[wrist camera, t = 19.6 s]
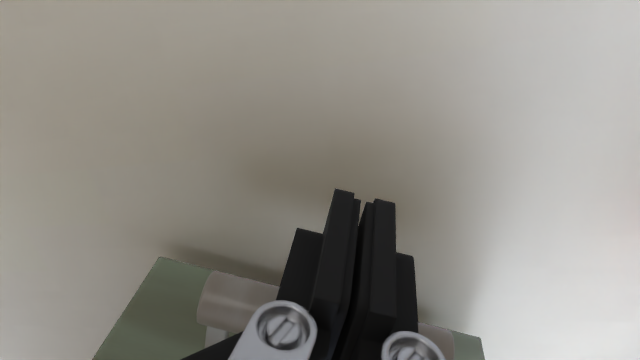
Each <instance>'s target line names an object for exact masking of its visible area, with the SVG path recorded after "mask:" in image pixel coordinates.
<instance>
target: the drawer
mask: <svg viewBox="0 0 640 360" xmlns="http://www.w3.org/2000/svg"><path fill="white" fill-rule="evenodd" d="M278 291H279V286H275V285H271V284H267V283H263V282H259V281H255V280H251V279H247V278H243V277H239V276H235V275H231V274H227V273H223V272H219V271H215V270H211V269H208V268H204V267H200V266H196V265H192V264H188V263H184V262H180V261H176V260H172V259H168V258H164V257H159V258H158V260H157V261H156V263H155V264H154V266H153V267H152V269H151V270H150V272H149V273H148V275H147V277H146V278H145V280H144V281H143V283H142V284H141V286H140V287H139V289H138V290H137V292H136V293H135V295H134V296H133V298H132V299H131V301H130V303H129V304H128V306H127V307H126V309H125V310H124V312H123V313H122V315H121V316H120V318H119V319H118V321H117V322H116V324H115V326H114V327H113V329H112V330H111V332H110V333H109V335H108V336H107V338H106V339H105V341H104V342H103V344H102V345H101V347H100V348H99V350H98V352H97V353H96V355H95V356H94V358H93V359H92V360H180V359H183V358H185V357H187V356H189V355H191V354H194V353H196V352H198V351H200V350H202V349H205V348H207V347H209V346H211V345H214V344H216V343H218V342H220V341H222V340H225V339H227V338H229V337H231V336H233V335H236V334H238V333H240V332H242V331H244V330H245V328H246V326H247V324H248V322H249V321H250V319H251V317H252V315H253V314H254V313H255V311H256V310H257V309H258V308H259V307H261V306H262V305H264V304H265V303H268V302H272V301H275V300H276V298H277V294H278ZM418 332H419V334H421V335H423V336H424V337H426V338H428V339H429V340H431V341H432V342H433V343H434V344H436V345H437V347H438V348H439V349H440V350H441V352H442V353H443V354H444V357H445V359H446V360H485V358H484V353H483V348H482V343H481V339H480V338H479V337H476V336H472V335H468V334H464V333H460V332H456V331H452V330H448V329H444V328H440V327H436V326H432V325H428V324H424V323H421V322H418Z"/></svg>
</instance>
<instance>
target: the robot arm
mask: <svg viewBox="0 0 640 360" xmlns="http://www.w3.org/2000/svg"><path fill="white" fill-rule="evenodd" d="M360 204H361V200H358V199H354V193H352V192H348V191H344V190H340V189H336V188H335V191H334V194H333V198H332V202H331V206H330V209H329V213H328V217H327V221H326V224H325V228H324V232H323V234H321V233H317V232H313V231H308V230H304V229H300V228H297V230H296V233H295V236H294V240H293V243H292V246H291V250H290V253H289V257H288V260H287V264H286V267H285V270H284V274H283V277H282V281H281V284H280V287H279V291H278V294H277V298H276V300H275V301H272V302H268V303H265V304H264V305H262V306H261V307H259V308H258V309H257V310H256V311H255V313H254V314H253V315H252V317H251V319H250V321H249V322H248V324H247V326H246V328H245V330H244V331H242V332H240V333H238V334H236V335H233V336H231V337H229V338H227V339H225V340H222V341H220V342H218V343H216V344H214V345H211V346H209V347H207V348H205V349H202V350H200V351H198V352H196V353H194V354H191V355H189V356H187V357H185V358H183V359H180V360H446V359H445V357H444V354H443V353H442V352H441V350H440V349H439V348H438V347H437V345H436V344H434V343H433V342H432V341H431V340H429V339H428V338H426V337H424V336H423V335H421V334H419V332H418V315H417V299H416V283H415V266H414V258H413V257H412V256H410V255H406V254H402V253H398V252H396V217H395V203H393V202H389V201H385V200H380V199H376V198H375V200H374V202H373V203H371V202H366V204H365V207H364V210H363V213H362V216H361V219H360V222H359V214H360ZM358 223H359V226H358Z"/></svg>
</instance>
